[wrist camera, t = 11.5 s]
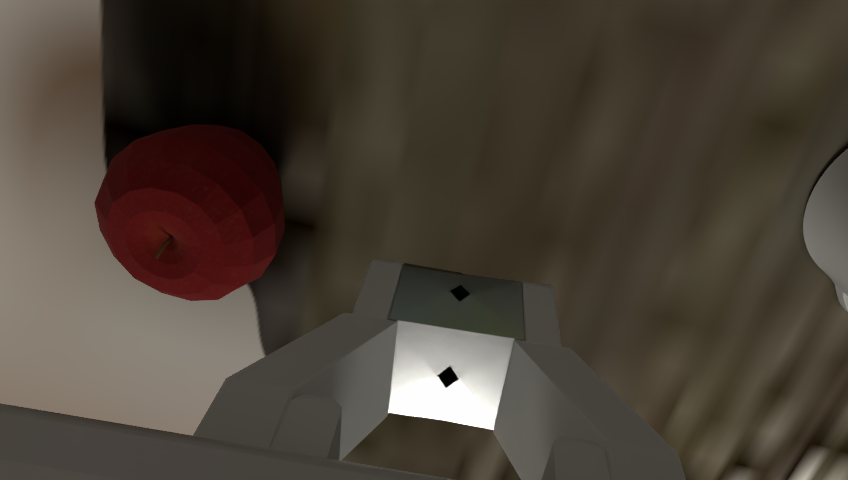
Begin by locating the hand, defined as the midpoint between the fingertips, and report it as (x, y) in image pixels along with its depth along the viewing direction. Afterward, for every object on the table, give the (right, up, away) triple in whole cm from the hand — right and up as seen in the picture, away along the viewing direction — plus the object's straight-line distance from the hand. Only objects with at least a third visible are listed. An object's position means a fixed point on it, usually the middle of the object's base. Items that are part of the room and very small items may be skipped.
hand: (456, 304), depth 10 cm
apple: (-15, +7, +38) cm, 42 cm away
